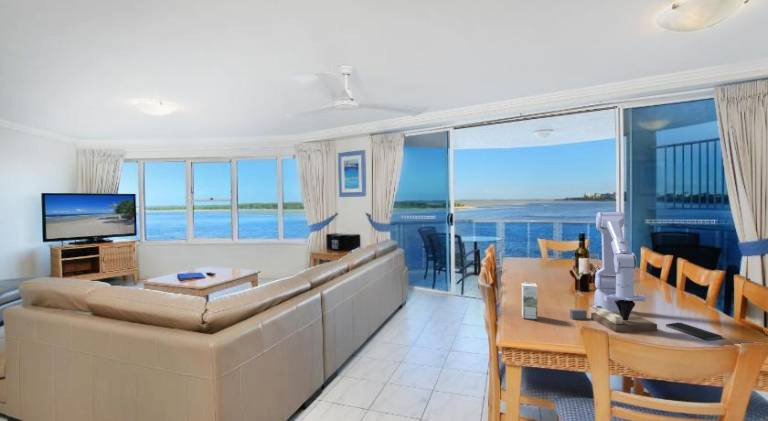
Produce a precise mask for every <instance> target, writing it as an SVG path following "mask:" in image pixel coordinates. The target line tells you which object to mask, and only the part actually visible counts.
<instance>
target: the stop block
mask: <svg viewBox="0 0 768 421" xmlns="http://www.w3.org/2000/svg"><path fill="white" fill-rule="evenodd" d="M587 317H588V313H587V310H586V309H584V308H581V309H579V308H577V309H575V308H574V309H569V319H571V320H587Z"/></svg>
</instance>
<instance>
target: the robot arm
mask: <svg viewBox="0 0 768 421" xmlns="http://www.w3.org/2000/svg"><path fill="white" fill-rule="evenodd" d="M625 222H626V217H625V214H624V212H623V211H598V212H597V213H596V214H595V227H596V231H599V232H600V235H601V264H602V266H601V268H600V269H598V270H596V271H595V273H594V274H595V276H594V277H595V278H594V285H595V288H596V289H595V291H594V305H592V307H593V308H594V309H596V306H601V308H604V309H606V310H608V311H610V312H620V315H621V317H623V320H628V318H629V315H630V312H631V313H632V311H633V309H634V307H635V306H636V303H635V302H647V297H646V296H645V295H641V294H640V295H639V294H635V293H634V292H635V291H634V289H635V285H634V284H635V282H634V280H635V272H634V271H635V269H636V268H637V257H636V255H635V253H634V252H633V251H632V250H631V249H630V244H629V242H628V240H627V239H626V238H624V235H623V229H622V228H623V227H624V224H625Z"/></svg>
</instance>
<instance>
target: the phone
mask: <svg viewBox="0 0 768 421" xmlns="http://www.w3.org/2000/svg"><path fill="white" fill-rule="evenodd" d="M665 327H666V328H668V329H671V330H674V331H677V332H680V333H682V334H686V335H688V336H691V337H695V338H697V339H700V340H704V341H706V342H707V341H709V342H710V341H715V340H722V339H723V335H721V334H719V333H718V334H717V333H715V332H712V331H709V330H707V329H706V330H705V329H702V328H700V327H699V328H698V327H696V326H694V325H693V326H692V325H689V324H686V323H684V322H672V323H666V324H665Z"/></svg>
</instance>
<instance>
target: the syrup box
mask: <svg viewBox="0 0 768 421" xmlns="http://www.w3.org/2000/svg"><path fill="white" fill-rule="evenodd" d="M538 297H539V296H538V285H537V283H536V282H521V316H522V319H523V318H525V320H535V319H536V321H537V320H538Z"/></svg>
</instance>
